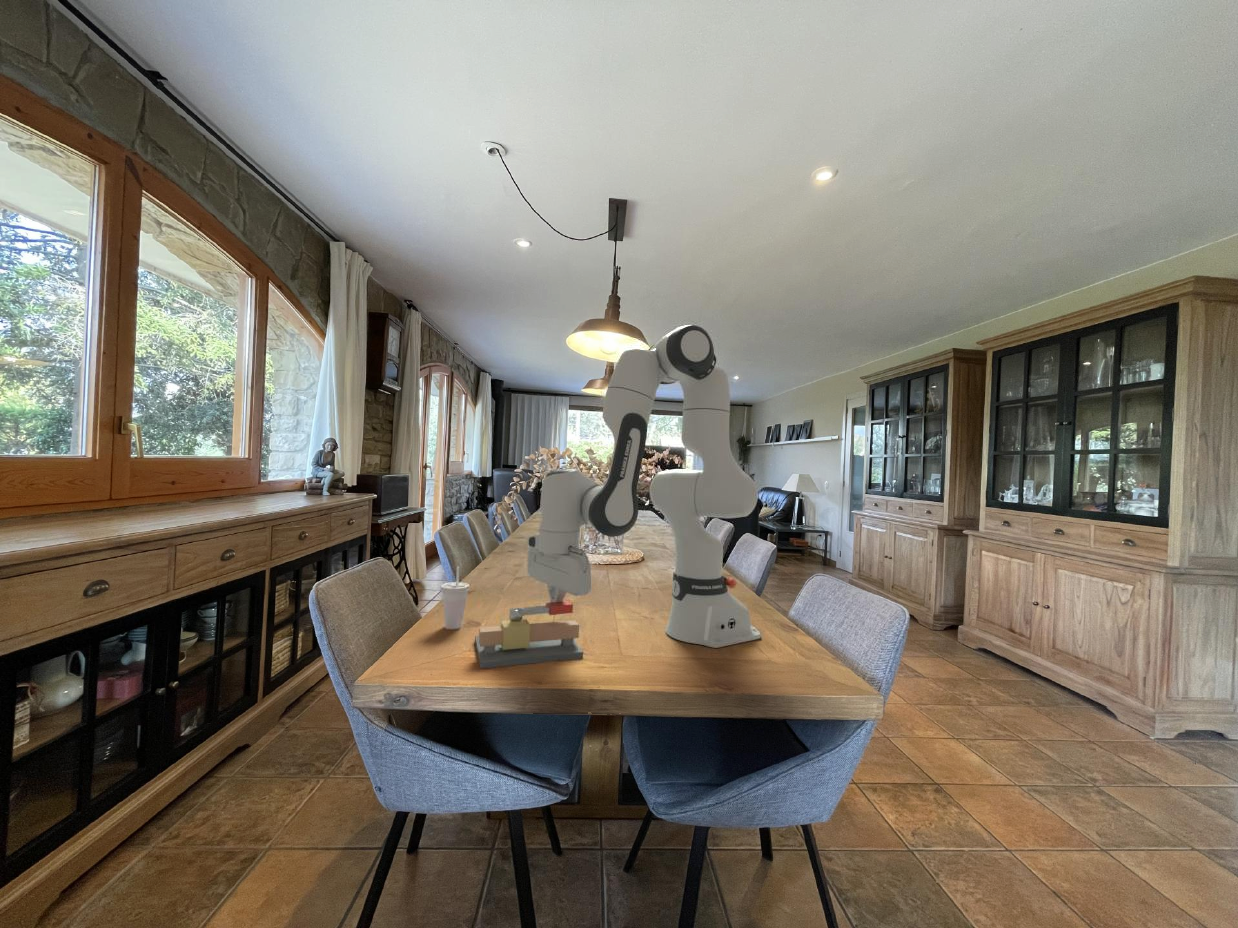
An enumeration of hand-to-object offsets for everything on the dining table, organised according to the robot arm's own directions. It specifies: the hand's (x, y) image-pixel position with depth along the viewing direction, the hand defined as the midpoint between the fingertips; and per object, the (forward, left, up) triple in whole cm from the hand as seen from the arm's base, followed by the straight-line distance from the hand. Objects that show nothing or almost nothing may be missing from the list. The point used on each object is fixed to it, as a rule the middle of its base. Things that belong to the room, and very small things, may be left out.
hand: (556, 606), depth 106 cm
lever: (+4, +3, -1) cm, 5 cm away
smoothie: (+20, -16, -8) cm, 27 cm away
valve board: (+6, +2, -8) cm, 10 cm away
